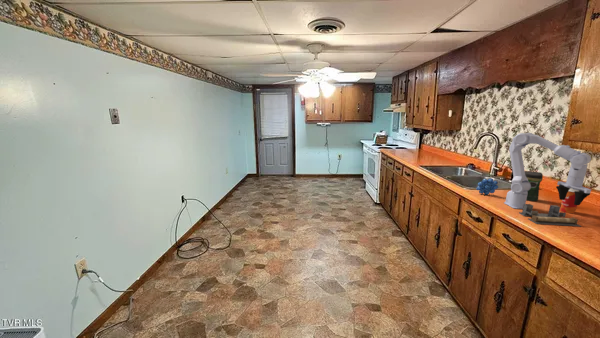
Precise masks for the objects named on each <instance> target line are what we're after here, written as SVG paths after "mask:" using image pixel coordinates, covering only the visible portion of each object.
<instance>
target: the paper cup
mask: <svg viewBox="0 0 600 338" xmlns="http://www.w3.org/2000/svg"><path fill="white" fill-rule="evenodd" d="M574 191H578V190H575V189H571V188H570V189H569V191H568V192H567V195H566V198H565V200H561V206H560V211H561V212H564V213H566V214H575V213H576V211H577V207H578V205H574V201H575V193H574Z"/></svg>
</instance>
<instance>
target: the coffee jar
mask: <svg viewBox="0 0 600 338" xmlns="http://www.w3.org/2000/svg"><path fill="white" fill-rule="evenodd" d="M525 176H526V177H527V179H528V182H529V183H530V184H531V188H530V190H528V191H527V192H528V195H527V199H526V201H530V202H536V201H538V200H539V197H540V196H539V195H540V185H541V182H542V181H543V177H544V176H543V173H542V172H538V171H533V170H532V171H531V170H530V171H528V170H525Z"/></svg>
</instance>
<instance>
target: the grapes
mask: <svg viewBox="0 0 600 338" xmlns="http://www.w3.org/2000/svg"><path fill="white" fill-rule="evenodd" d="M475 189H476V190H477V191H478V193H479V195H480V194H481V195H482V194H484V195H485V196H487V195H489V194H494V193H495V192H496V190H497V189H499V185H498V180H494V178H491V177H490V178H488V179H487V178H483V179H482V180H481V181H479V182H478V183H477V187H476V188H475Z"/></svg>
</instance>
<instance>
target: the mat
mask: <svg viewBox="0 0 600 338" xmlns="http://www.w3.org/2000/svg"><path fill="white" fill-rule="evenodd" d="M527 220H529V221H530V222H532V223H534V224H535V225H544V226H545V225H549V226H564V227H579V228H580V227H582V225H580V224H579V223H577V224H573V223H561V222H544V221H537V222H535V221H533V220H532V218H527Z"/></svg>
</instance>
